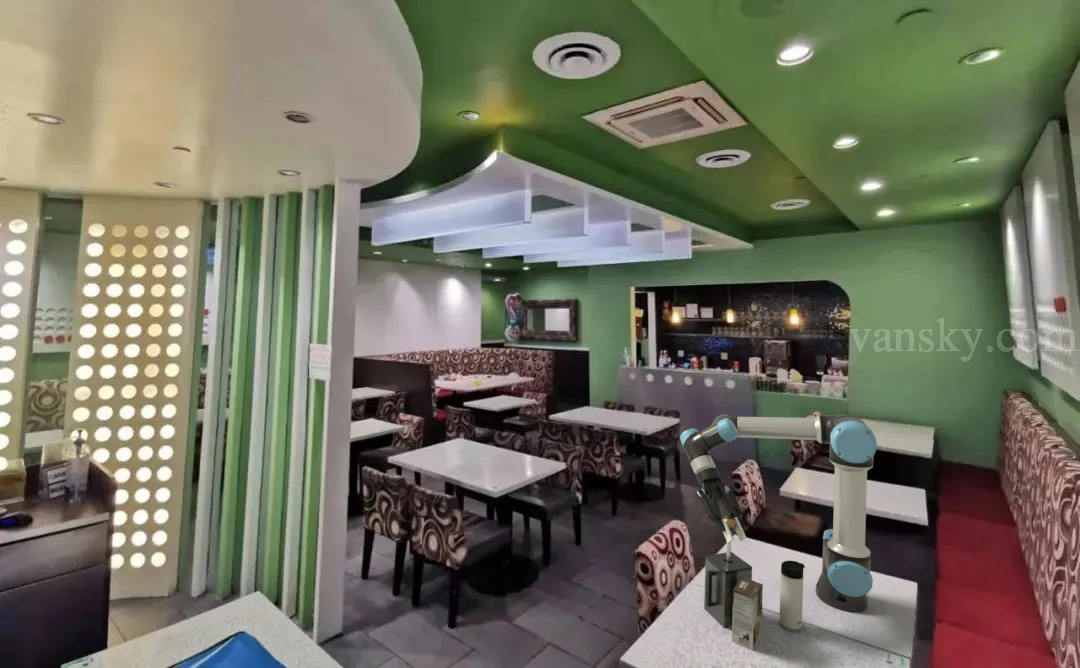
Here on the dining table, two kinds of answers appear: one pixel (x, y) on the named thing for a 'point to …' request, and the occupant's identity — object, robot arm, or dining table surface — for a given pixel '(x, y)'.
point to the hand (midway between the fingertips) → (736, 540)
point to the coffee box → (747, 613)
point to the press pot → (723, 585)
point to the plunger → (732, 526)
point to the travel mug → (791, 595)
